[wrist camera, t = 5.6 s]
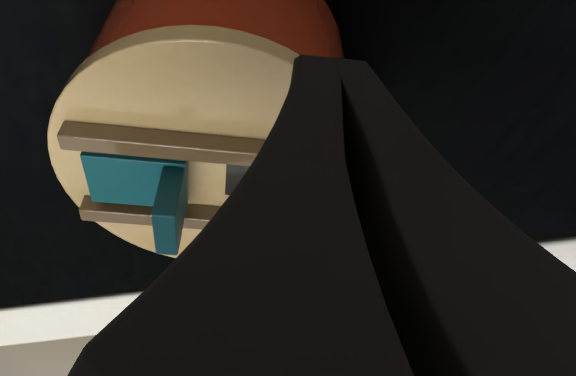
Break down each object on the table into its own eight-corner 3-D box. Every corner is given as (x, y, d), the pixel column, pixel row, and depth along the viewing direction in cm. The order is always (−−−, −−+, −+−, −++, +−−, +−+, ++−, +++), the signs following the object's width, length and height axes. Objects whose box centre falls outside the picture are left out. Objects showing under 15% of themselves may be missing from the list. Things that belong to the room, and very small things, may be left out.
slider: (186, 155, 15) (174, 214, 14) (188, 201, 17) (178, 258, 15) (82, 146, 15) (58, 205, 13) (94, 193, 16) (73, 251, 15)
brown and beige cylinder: (375, -42, 17) (412, 78, 12) (323, 161, 25) (332, 286, 20) (81, -82, 16) (-10, 30, 11) (119, 142, 24) (75, 269, 19)
